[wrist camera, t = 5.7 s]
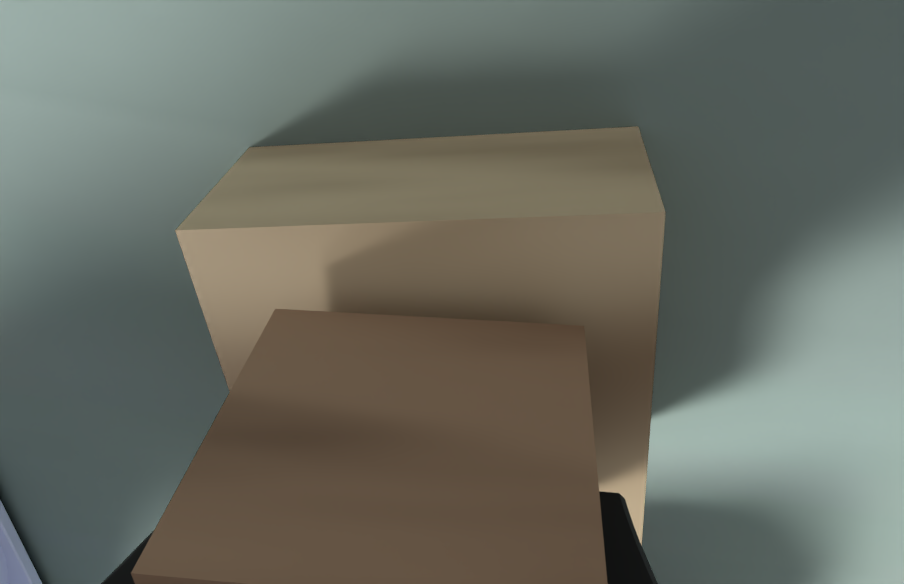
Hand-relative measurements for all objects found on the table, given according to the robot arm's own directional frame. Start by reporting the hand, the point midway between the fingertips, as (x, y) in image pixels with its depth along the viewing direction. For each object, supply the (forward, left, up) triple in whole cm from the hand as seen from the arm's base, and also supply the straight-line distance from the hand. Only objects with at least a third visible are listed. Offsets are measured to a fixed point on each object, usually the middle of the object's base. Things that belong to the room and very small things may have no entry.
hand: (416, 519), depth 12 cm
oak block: (0, 0, -7) cm, 7 cm away
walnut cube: (0, 0, -2) cm, 2 cm away
